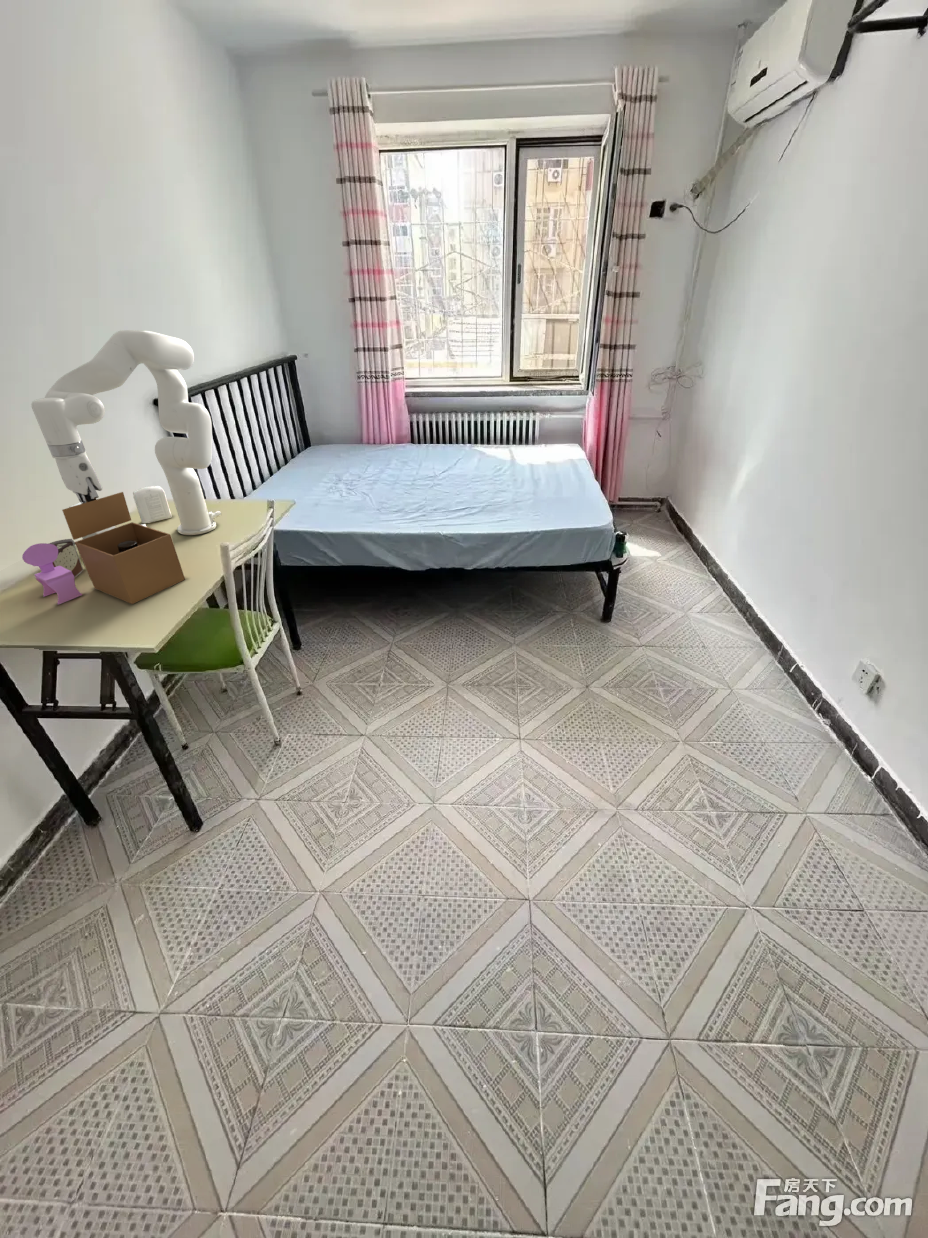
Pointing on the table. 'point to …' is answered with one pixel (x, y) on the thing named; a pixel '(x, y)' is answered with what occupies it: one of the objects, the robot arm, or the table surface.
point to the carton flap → (97, 515)
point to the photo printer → (151, 504)
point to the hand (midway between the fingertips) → (94, 515)
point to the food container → (67, 556)
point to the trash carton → (131, 562)
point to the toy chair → (51, 572)
